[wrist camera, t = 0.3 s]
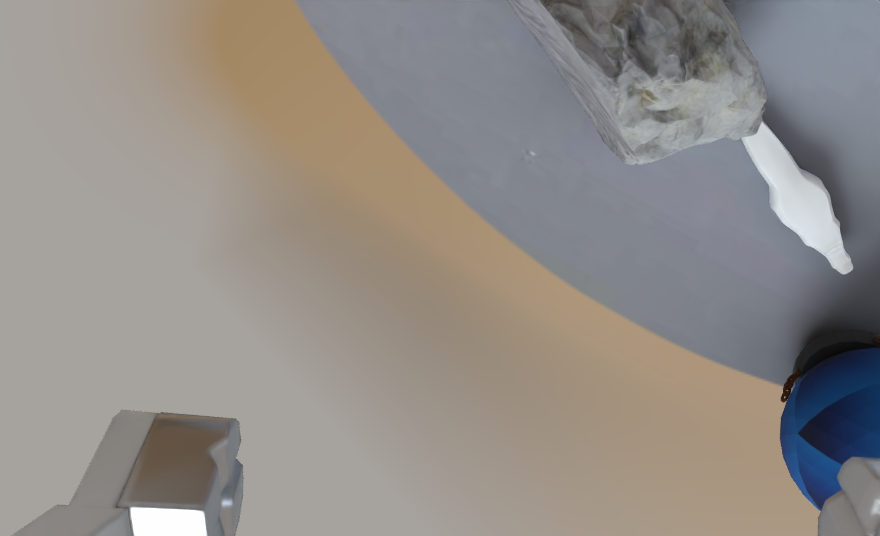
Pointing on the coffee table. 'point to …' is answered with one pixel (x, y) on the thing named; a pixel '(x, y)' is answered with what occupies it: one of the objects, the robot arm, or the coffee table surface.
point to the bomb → (831, 410)
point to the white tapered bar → (798, 197)
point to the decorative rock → (652, 70)
